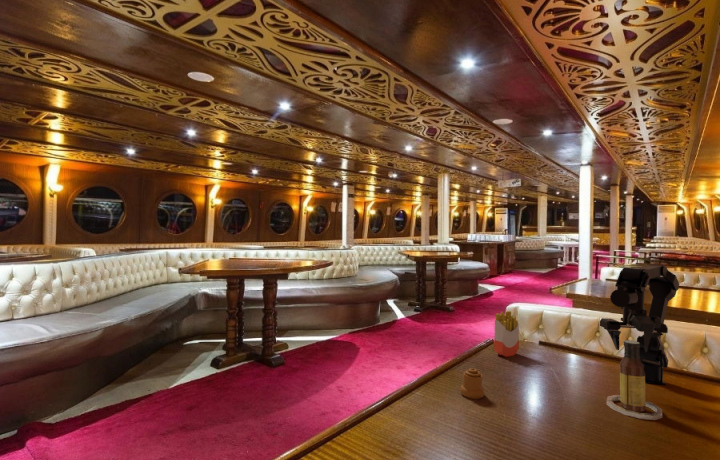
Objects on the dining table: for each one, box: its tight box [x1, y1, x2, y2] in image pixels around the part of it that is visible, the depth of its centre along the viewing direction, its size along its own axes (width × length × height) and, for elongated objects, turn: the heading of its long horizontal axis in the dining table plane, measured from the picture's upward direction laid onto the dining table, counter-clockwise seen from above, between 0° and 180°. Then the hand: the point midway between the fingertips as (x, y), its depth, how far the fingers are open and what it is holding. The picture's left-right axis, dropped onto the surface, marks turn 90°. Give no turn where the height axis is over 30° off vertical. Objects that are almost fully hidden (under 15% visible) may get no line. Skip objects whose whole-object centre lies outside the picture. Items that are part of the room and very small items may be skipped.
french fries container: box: [493, 310, 520, 358], centre depth 164 cm, size 5×11×18 cm, turn 122°
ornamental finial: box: [459, 367, 486, 400], centre depth 121 cm, size 8×8×8 cm
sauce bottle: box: [619, 339, 647, 413], centre depth 115 cm, size 7×6×20 cm
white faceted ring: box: [606, 394, 663, 421], centre depth 115 cm, size 13×13×1 cm
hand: (632, 350), depth 130 cm, fingers open, 9 cm apart
